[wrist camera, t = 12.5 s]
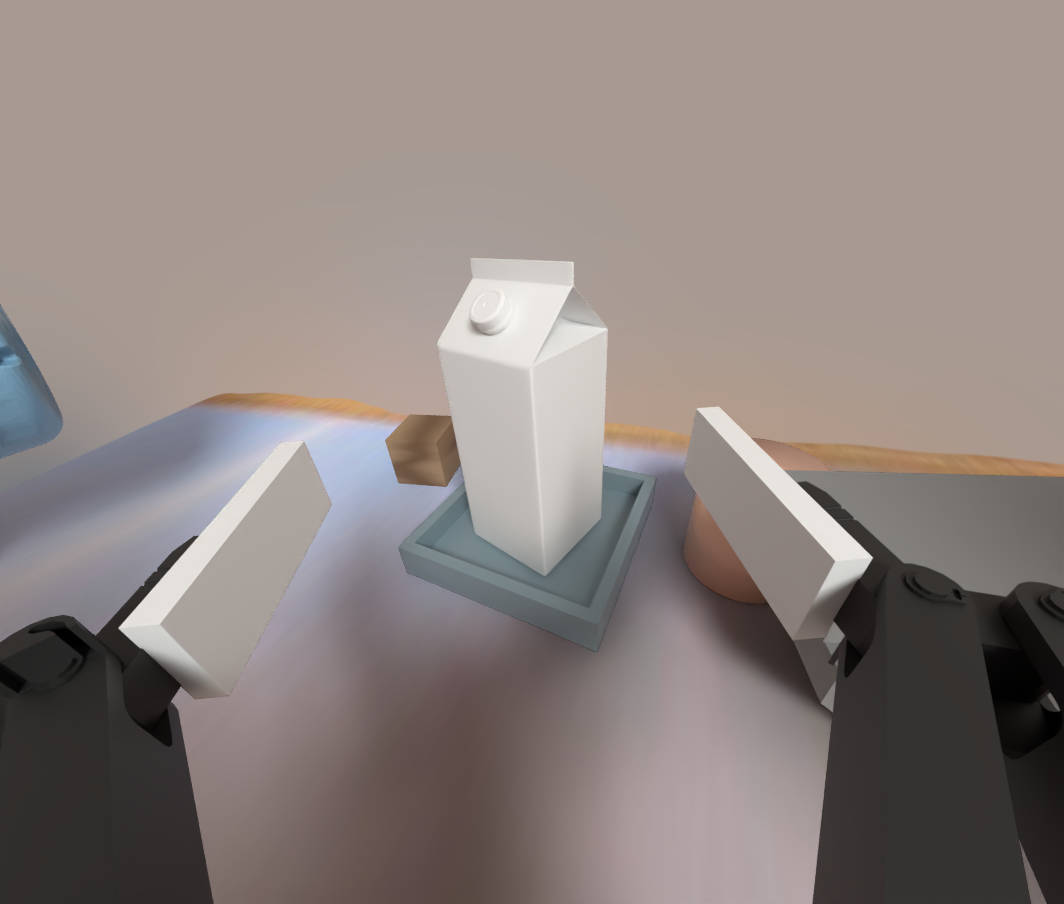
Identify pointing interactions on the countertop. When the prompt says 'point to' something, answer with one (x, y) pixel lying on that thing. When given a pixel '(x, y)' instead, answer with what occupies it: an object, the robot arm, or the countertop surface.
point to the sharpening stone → (948, 535)
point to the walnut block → (424, 450)
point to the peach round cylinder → (712, 550)
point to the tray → (517, 590)
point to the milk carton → (527, 406)
